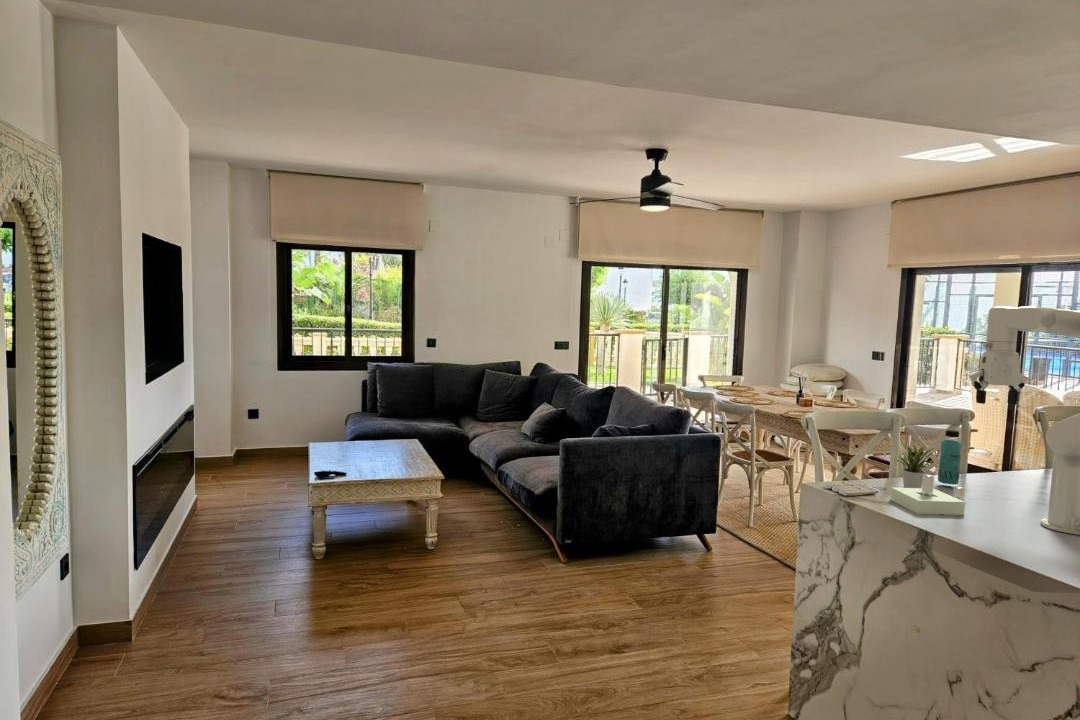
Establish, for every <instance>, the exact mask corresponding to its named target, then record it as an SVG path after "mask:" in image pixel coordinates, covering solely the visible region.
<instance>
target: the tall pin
mask: <svg viewBox="0 0 1080 720" xmlns="http://www.w3.org/2000/svg"><path fill="white" fill-rule="evenodd" d="M934 481H935V475H931V474H926V473H925V474H923V481H922V487H921V488H922V494H921V495H922V496H928V497H933V489H934V485H935V482H934Z"/></svg>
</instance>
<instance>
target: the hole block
mask: <svg viewBox="0 0 1080 720" xmlns="http://www.w3.org/2000/svg"><path fill="white" fill-rule="evenodd" d="M921 494H922V487H921V488H904V487H891V488H890V500H891V501H892V502H894V503H896V504H898V505H900V506H902V507H904V508H906V509H907V510H909V511H911V512H913V513H915V514H917V515H939V514H944V515H946V516H964V515H965V506H966V502H965V500H964V501H961V500H959V499H957V498H954V497H953V495H949V494H947V493H945V492H943V491H940V490H938V489H936V488H933V497H928V496H922V495H921ZM944 515H943V516H944Z"/></svg>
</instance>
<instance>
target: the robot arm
mask: <svg viewBox="0 0 1080 720" xmlns="http://www.w3.org/2000/svg"><path fill="white" fill-rule="evenodd" d="M987 318H988V319H987V330H986V341H985V343H983V344H982V347H983V348H984V349H985V351H983V353H982V356H981V360H980V365H979V368H978V369H979V370H978V371H976V372H974V373H972V374H969V376H968V378H969V381H970V383H971V385H972V386H973V387H974V389H975V390H976V391H975V392H976V394H975V395H976V396H975V400H976V401H975V402H976V404H982V405H985V404H986V398H987V391H986V390H985V389H986V388H987V387H989V385H990V386H1007V387H1008V388H1009V390H1008V392H1007V404H1008V405H1014V406H1016V405H1017V404H1018V399H1019V392H1021V391H1022V389H1023V388H1024V387H1025V385H1026V383H1027V381H1028V379H1029V377H1028V376H1026V375H1025V374H1023V373H1021V360H1020V359H1021V358H1020V354H1019V352H1017V342H1018V340H1017V339H1018V331H1019V332H1025V333H1026V332H1027V333H1044V334H1051V335H1052V334H1053V335H1059V336H1065V337H1070V338H1071V337H1072V338H1077V339H1080V311H1079V310H1072V309H1071V310H1070V309H1062V308H1053V307H1046V306H1037V305H1036V306H1035V305H1034V306H1033V305H1028V306H1019V307H1018V306H1016V307H1014V306H994V307H993V306H992V307H991V308H990V309H989V310H988V316H987ZM1045 441H1046V444H1047V445H1048V447H1049V448H1050V449H1051V450H1052V451H1053V452H1054V453H1053V461H1052V466H1051V467H1052V468H1051V469H1052V470H1051V477H1050V479H1051V480H1050V488H1049V498H1048V499H1049V501H1048V512H1047V514H1048V515H1047V517H1045V518H1042V519H1040V525H1041V526H1043V527H1044V528H1046V529H1050V530H1053V531H1056V532H1061V533H1065V534H1068V535H1069V534H1070V535H1076V536H1080V412H1079V413H1077V414H1074V415H1071V416H1069V417H1067V418H1065V419H1062V420H1059V421H1057V422H1055V423H1053V424H1052V425H1050V426H1049V428H1048V429H1047V431H1046V433H1045Z"/></svg>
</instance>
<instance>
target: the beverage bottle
mask: <svg viewBox="0 0 1080 720" xmlns="http://www.w3.org/2000/svg"><path fill="white" fill-rule="evenodd" d="M944 435H945V437H949V438H960V431H959V430H954V429H947V430H945V434H944ZM949 438H945V439H943V440H942V441H940V453H939V461H938V462H939V463H938V468H937V469H938V471H937V481H938V483H942V484H946V485H954V486H955V485H959V482H960V473H961V469H960V468H961V466H960V465H961V459H962V457H961V456H962V446H963V444H962V443H961V441H959V440H958V439H949Z"/></svg>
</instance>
